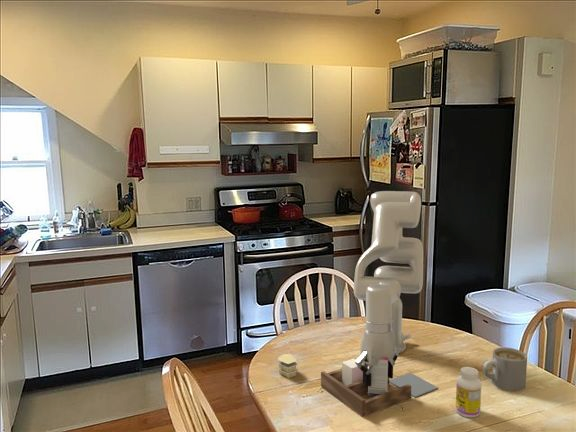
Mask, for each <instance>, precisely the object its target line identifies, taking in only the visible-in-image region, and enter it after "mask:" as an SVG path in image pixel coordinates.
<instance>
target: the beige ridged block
mask: <svg viewBox="0 0 576 432" xmlns="http://www.w3.org/2000/svg"><path fill="white" fill-rule="evenodd" d="M277 360H278V361H277V365H278V366H277V371H278V374H279V375H282V376H284V377H286V378H287V379H290V378H292V377H295V376H297V372H298V369H297V366H298V363H297V361H298V359H296V358H295V356H294V355H293V354H291V353H284V354H282V355H280V356H279V357H277Z"/></svg>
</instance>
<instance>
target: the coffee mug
mask: <svg viewBox="0 0 576 432" xmlns="http://www.w3.org/2000/svg"><path fill="white" fill-rule="evenodd" d="M527 366H528V356H527V354H526V353H525V352H523V351H521V350H519V349H518V348H517V349H516V348H513V347H506V346H505V347H496V348H495V349H493V351H492V359H488V360H486V361H485V362H484V363H483V366H482V371H483V372H482V373H483V375H484V377H486V378H488V379H490V381H491V383H492V385H493V386H495V387H497V388H498V389H501V390H502V391H503V390H504V391H507V392H520V391H523V390H525V389H526V386H527V370H528V369H527ZM490 367H491V372H490V373H489V368H490Z"/></svg>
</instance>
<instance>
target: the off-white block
mask: <svg viewBox="0 0 576 432" xmlns="http://www.w3.org/2000/svg"><path fill="white" fill-rule="evenodd" d="M356 360H357V359H356V358H351V359H348V360H345V361H342V362H341V369H342V382H341V383H342V384H343V385H345V386H346V385H349V384H352V383H355V382H358V381H361V380H363V371H361V370H360V369H359V368H358V366H357V365H356V363H355V361H356ZM362 364H363V363H362Z"/></svg>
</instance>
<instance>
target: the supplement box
mask: <svg viewBox="0 0 576 432" xmlns="http://www.w3.org/2000/svg"><path fill="white" fill-rule="evenodd" d="M370 373H371V386H368V393H367V395H368V396H378V395H380V394H383V393H386V392H388V385H387V382H388V358H384V359H381V360H379V362H378V364H377V365H374V366H373V367H372V369H371V371H370Z"/></svg>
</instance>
